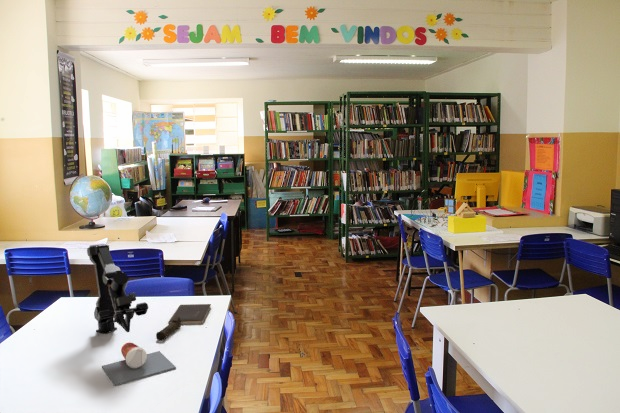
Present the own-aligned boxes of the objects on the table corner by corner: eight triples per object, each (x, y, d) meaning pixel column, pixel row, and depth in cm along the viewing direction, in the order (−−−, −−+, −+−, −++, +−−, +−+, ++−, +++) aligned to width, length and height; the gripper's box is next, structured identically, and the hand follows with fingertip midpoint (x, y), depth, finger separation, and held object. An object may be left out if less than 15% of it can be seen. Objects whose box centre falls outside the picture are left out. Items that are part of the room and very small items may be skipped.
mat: (101, 367, 187) (101, 365, 187) (159, 352, 200) (159, 350, 200) (114, 385, 173) (114, 384, 173) (175, 368, 186) (175, 367, 186)
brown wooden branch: (164, 341, 212) (163, 331, 211) (156, 340, 213) (155, 330, 212) (185, 325, 230) (185, 315, 229) (178, 324, 231) (177, 315, 230)
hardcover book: (211, 308, 254) (210, 304, 254) (202, 324, 231) (202, 320, 231) (179, 309, 254) (179, 304, 253) (168, 325, 231) (168, 320, 230)
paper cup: (122, 337, 194) (130, 346, 182) (141, 341, 198) (150, 349, 186) (115, 358, 193) (123, 367, 181) (134, 361, 196) (143, 370, 185)
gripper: (96, 291, 191) (106, 327, 183) (145, 282, 202) (156, 316, 194) (93, 305, 198) (102, 341, 191) (140, 297, 209) (150, 329, 202)
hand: (128, 331), depth 194 cm, fingers closed
